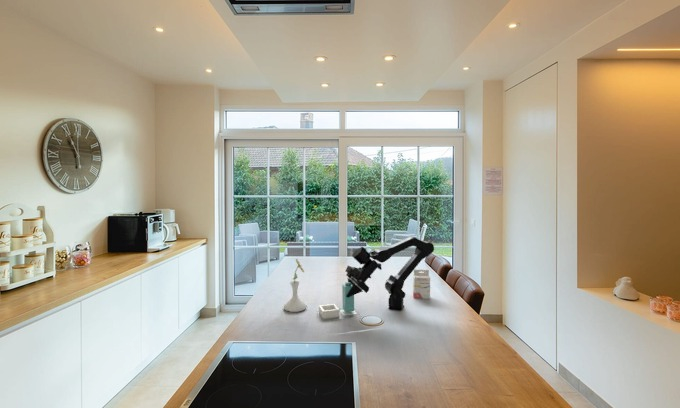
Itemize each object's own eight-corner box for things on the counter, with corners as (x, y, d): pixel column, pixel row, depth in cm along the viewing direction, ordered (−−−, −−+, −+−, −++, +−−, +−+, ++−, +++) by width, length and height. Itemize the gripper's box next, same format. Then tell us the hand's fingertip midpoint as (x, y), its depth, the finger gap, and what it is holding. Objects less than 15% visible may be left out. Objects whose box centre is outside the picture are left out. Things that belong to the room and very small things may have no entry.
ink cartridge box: (414, 298, 184) (414, 271, 183) (413, 295, 188) (413, 269, 188) (430, 298, 183) (430, 271, 182) (428, 295, 188) (429, 269, 187)
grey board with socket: (352, 307, 171) (352, 300, 170) (361, 317, 158) (361, 309, 158) (315, 312, 165) (315, 304, 165) (321, 322, 153) (321, 313, 153)
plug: (351, 307, 166) (351, 281, 165) (354, 310, 162) (353, 283, 161) (342, 308, 165) (342, 282, 164) (345, 311, 160) (345, 284, 160)
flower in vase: (302, 315, 162) (302, 263, 161) (280, 313, 164) (279, 262, 163) (310, 305, 175) (309, 257, 173) (289, 304, 177) (288, 256, 176)
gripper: (349, 255, 172) (328, 279, 169) (362, 264, 154) (339, 290, 151) (364, 269, 174) (344, 293, 172) (378, 279, 156) (356, 306, 154)
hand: (345, 295), depth 162 cm, fingers closed on plug, 4 cm apart
